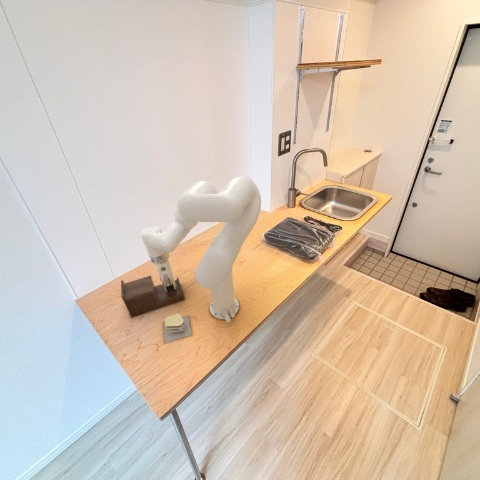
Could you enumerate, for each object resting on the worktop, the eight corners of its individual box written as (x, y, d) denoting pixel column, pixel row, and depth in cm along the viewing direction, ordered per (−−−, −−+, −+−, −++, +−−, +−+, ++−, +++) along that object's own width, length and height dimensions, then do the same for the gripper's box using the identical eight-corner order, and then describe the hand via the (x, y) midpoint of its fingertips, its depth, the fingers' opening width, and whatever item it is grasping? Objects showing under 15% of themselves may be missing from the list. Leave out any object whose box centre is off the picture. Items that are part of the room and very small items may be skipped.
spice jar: (177, 289, 109) (173, 277, 104) (165, 294, 107) (160, 281, 103) (175, 281, 113) (171, 269, 109) (163, 285, 112) (159, 273, 107)
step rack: (184, 299, 111) (178, 278, 103) (131, 317, 105) (121, 296, 97) (180, 284, 119) (174, 264, 111) (130, 300, 112) (120, 280, 105)
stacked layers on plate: (165, 342, 94) (161, 333, 91) (164, 323, 101) (160, 314, 98) (191, 334, 96) (188, 326, 93) (188, 316, 103) (185, 308, 100)
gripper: (171, 264, 94) (182, 296, 104) (165, 241, 107) (175, 272, 117) (151, 270, 92) (164, 302, 102) (147, 246, 105) (159, 277, 115)
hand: (170, 286), depth 110 cm, fingers closed on spice jar, 5 cm apart
